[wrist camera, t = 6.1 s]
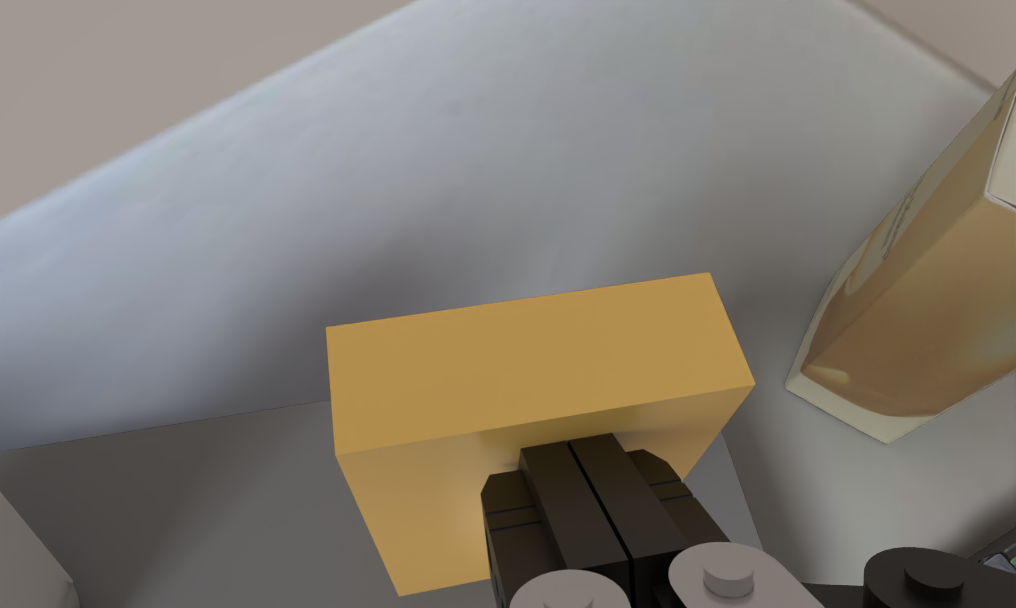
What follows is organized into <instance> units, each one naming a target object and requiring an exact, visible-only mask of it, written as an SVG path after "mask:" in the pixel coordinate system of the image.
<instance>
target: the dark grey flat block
mask: <svg viewBox="0 0 1016 608" xmlns="http://www.w3.org/2000/svg"><path fill="white" fill-rule="evenodd" d="M682 483H685V485H686V486H687V487H688V488H689V490H690V491H691V492H692V493H693V497H694V498H695V497H696V499H697V500H698V501H699V502H700V504H701V505H702V506H703V507H704V509H705V510H706V511H707V512H708V514H709V515H710V516H711V517H712V519H713V520H714V521H715V522H716V524H717V525H718V526H719V527H720V529H721V530H722V531H723V532H724V534H725V535H726V536H727V538H728V539H729V540H730V541H731V543H738V544H742V545H747V546H750V547H753V548H756V549H758V550H761V551H763V552H764V550H763V548H762V545H761V542H760V539H759V536H758V533H757V530H756V528H755V525H754V522H753V519H752V516H751V513H750V510H749V508H748V505H747V502H746V499H745V496H744V493H743V490H742V488H741V485H740V482H739V479H738V476H737V473H736V470H735V467H734V465H733V462H732V459H731V456H730V453H729V450H728V447H727V445H726V442H725V439H724V436H723V433H722V430H721V431H720V432H719V434H718V435H717V436H716V437H715V439H714V440H713V441H712V443H711V444H710V445H709V447H708V448H707V449H706V451H705V452H704V453H703V454H702V456H701V457H700V458H699V460H698V461H697V462H696V464H695V465H694V466H693V468H692V469H691V470H690V471H689V473H688V474H687V475H686V477H685V478H684V479H683V481H682ZM0 492H1V493H2V494H3V496H4V497H5V498H6V499H7V501H8V502H9V503H10V504H11V505H12V507H13V508H14V509H15V510H16V511H17V513H18V514H19V515H20V516H21V518H22V519H23V520H24V521H25V522H26V524H27V525H28V526H29V527H30V529H31V530H32V531H33V532H34V533H35V535H36V536H37V537H38V538H39V539H40V541H41V542H42V543H43V544H44V546H45V547H46V548H47V549H48V550H49V552H50V553H51V554H52V555H53V557H54V558H55V559H56V560H57V561H58V563H59V564H60V565H61V566H62V567H63V569H64V570H65V571H66V572H67V574H68V575H69V576H70V577H71V578H72V580H73V584H72V585H73V586H74V588H75V589H76V592H77V594H78V598H79V603H80V608H497V605H496V600H495V596H494V591H493V587H492V582H491V579H486V580H481V581H475V582H470V583H465V584H460V585H455V586H450V587H445V588H440V589H435V590H430V591H425V592H420V593H415V594H410V595H405V596H400V597H399V596H398V593H397V591H396V589H395V587H394V585H393V582H392V580H391V578H390V576H389V574H388V571H387V569H386V567H385V565H384V562H383V560H382V558H381V556H380V554H379V551H378V549H377V547H376V545H375V542H374V540H373V538H372V536H371V534H370V531H369V529H368V527H367V525H366V523H365V520H364V518H363V516H362V514H361V511H360V509H359V507H358V505H357V503H356V500H355V498H354V496H353V494H352V491H351V489H350V487H349V485H348V483H347V480H346V478H345V476H344V474H343V472H342V469H341V467H340V465H339V463H338V460H337V458H336V456H335V446H334V433H333V419H332V406H331V400H325V401H319V402H313V403H306V404H300V405H294V406H287V407H281V408H275V409H268V410H262V411H256V412H249V413H243V414H237V415H230V416H224V417H218V418H211V419H205V420H199V421H192V422H186V423H180V424H173V425H167V426H161V427H154V428H148V429H142V430H135V431H129V432H123V433H116V434H110V435H103V436H97V437H91V438H84V439H78V440H72V441H65V442H59V443H53V444H46V445H40V446H34V447H27V448H21V449H15V450H8V451H2V452H0Z"/></svg>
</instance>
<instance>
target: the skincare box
mask: <svg viewBox="0 0 1016 608" xmlns="http://www.w3.org/2000/svg"><path fill="white" fill-rule="evenodd" d="M1015 371H1016V70H1015V71H1014V72H1013V73H1012V75H1010V77H1009V78H1008V79H1007V80H1006V81H1005V82H1004V84H1003V85H1002V86H1001V87H1000V88H999V89H998V90H997V91H996V93H995V94H994V95H993V96H992V97H991V98H990V99H989V101H988V102H987V103H986V104H985V105H984V106H983V107H982V109H981V110H980V111H979V112H978V113H977V114H976V116H975V117H974V118H973V119H972V120H971V121H970V122H969V123H968V125H967V126H966V127H965V128H964V129H963V130H962V131H961V132H960V134H959V135H958V136H957V137H956V138H955V139H954V140H953V142H952V143H951V144H950V145H949V146H948V147H947V148H946V149H945V151H944V152H943V153H942V154H941V155H940V156H939V157H938V159H937V160H936V161H935V162H934V163H933V164H932V165H931V166H930V168H929V169H928V170H927V171H926V172H925V173H924V174H923V175H922V176H921V178H920V179H919V180H918V181H917V182H916V183H915V184H914V185H913V187H912V188H911V189H910V190H909V191H908V192H907V193H906V194H905V196H904V197H903V198H902V199H901V200H900V201H899V203H898V204H897V205H896V206H895V207H894V208H893V209H892V211H891V212H890V213H889V214H888V215H887V216H886V217H885V219H884V220H883V221H882V222H881V223H880V224H879V225H878V226H877V228H876V229H875V230H874V231H873V232H872V233H871V234H870V235H869V237H868V238H867V239H866V240H865V241H864V242H863V243H862V244H861V245H860V247H859V248H858V249H857V250H856V251H855V252H854V253H853V254H852V256H851V257H850V258H849V259H848V260H847V261H846V262H845V263H844V265H843V266H842V267H841V268H840V269H839V270H838V271H837V272H836V274H835V275H834V277H833V279H832V281H831V283H830V284H829V286H828V288H827V290H826V292H825V294H824V296H823V298H822V300H821V302H820V304H819V306H818V308H817V310H816V312H815V314H814V316H813V318H812V321H811V323H810V325H809V327H808V329H807V331H806V334H805V336H804V338H803V341H802V343H801V346H800V348H799V350H798V353H797V355H796V357H795V360H794V362H793V365H792V367H791V370H790V372H789V374H788V377H787V379H786V382H785V385H784V386H785V388H786V389H787V390H789V391H791V392H792V393H794V394H796V395H798V396H800V397H801V398H803V399H805V400H806V401H808V402H810V403H812V404H813V405H815V406H817V407H818V408H820V409H822V410H824V411H826V412H827V413H829V414H831V415H833V416H835V417H836V418H838V419H840V420H842V421H843V422H845V423H847V424H849V425H851V426H853V427H855V428H856V429H858V430H860V431H862V432H864V433H866V434H868V435H870V436H871V437H873V438H875V439H877V440H879V441H881V442H883V443H885V444H890V443H892V442H894V441H896V440H898V439H899V438H901V437H903V436H904V435H906V434H908V433H909V432H911V431H913V430H915V429H916V428H918V427H920V426H922V425H923V424H925V423H927V422H929V421H930V420H932V419H934V418H935V417H937V416H939V415H940V414H942V413H944V412H946V411H947V410H949V409H951V408H952V407H954V406H956V405H958V404H959V403H961V402H963V401H965V400H966V399H968V398H970V397H972V396H973V395H975V394H977V393H978V392H980V391H982V390H984V389H986V388H987V387H989V386H991V385H993V384H994V383H996V382H998V381H999V380H1001V379H1003V378H1004V377H1006V376H1008V375H1010V374H1011V373H1013V372H1015Z"/></svg>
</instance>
